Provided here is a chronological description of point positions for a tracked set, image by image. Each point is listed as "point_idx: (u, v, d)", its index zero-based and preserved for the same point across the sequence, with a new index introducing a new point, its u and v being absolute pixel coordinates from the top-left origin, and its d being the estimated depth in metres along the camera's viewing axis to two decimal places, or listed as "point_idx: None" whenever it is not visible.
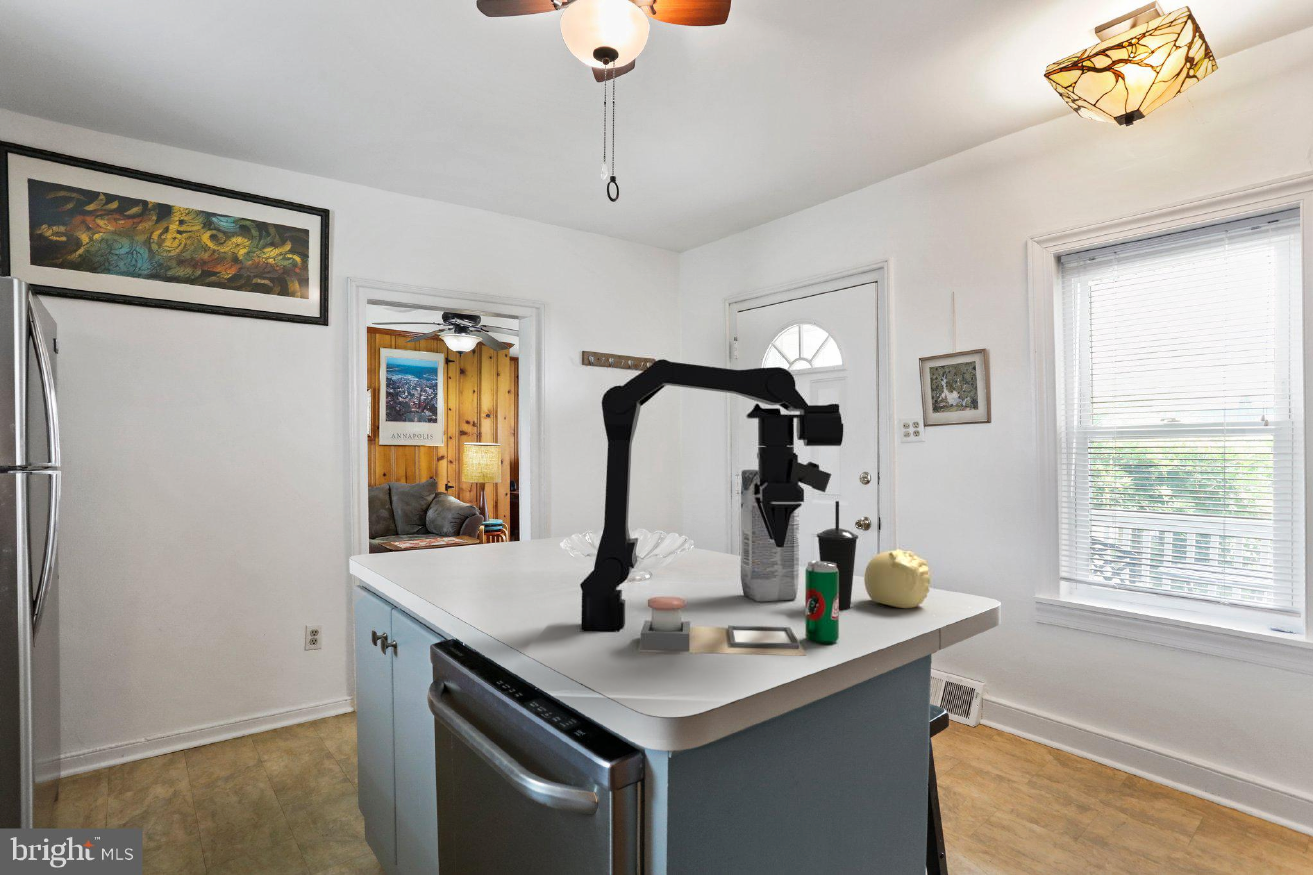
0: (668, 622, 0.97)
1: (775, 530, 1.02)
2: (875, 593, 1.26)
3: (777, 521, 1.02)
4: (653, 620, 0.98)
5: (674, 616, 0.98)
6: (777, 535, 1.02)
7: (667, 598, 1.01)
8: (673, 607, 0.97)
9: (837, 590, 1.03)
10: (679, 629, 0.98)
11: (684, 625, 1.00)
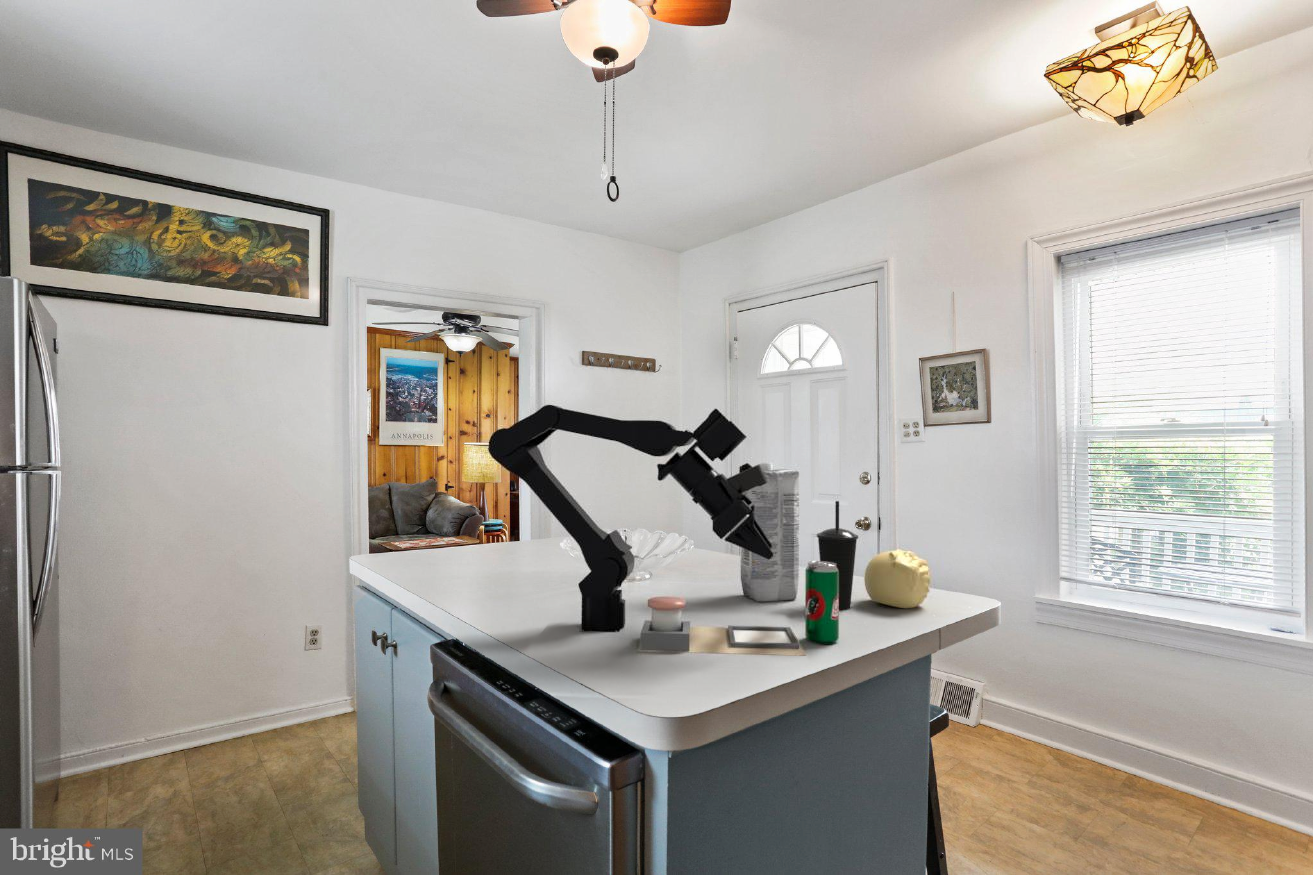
0: (668, 622, 0.97)
1: (755, 548, 1.00)
2: (875, 593, 1.26)
3: (749, 540, 1.00)
4: (653, 620, 0.98)
5: (674, 616, 0.98)
6: (760, 550, 1.00)
7: (667, 598, 1.01)
8: (673, 607, 0.97)
9: (837, 590, 1.03)
10: (679, 629, 0.98)
11: (684, 625, 1.00)
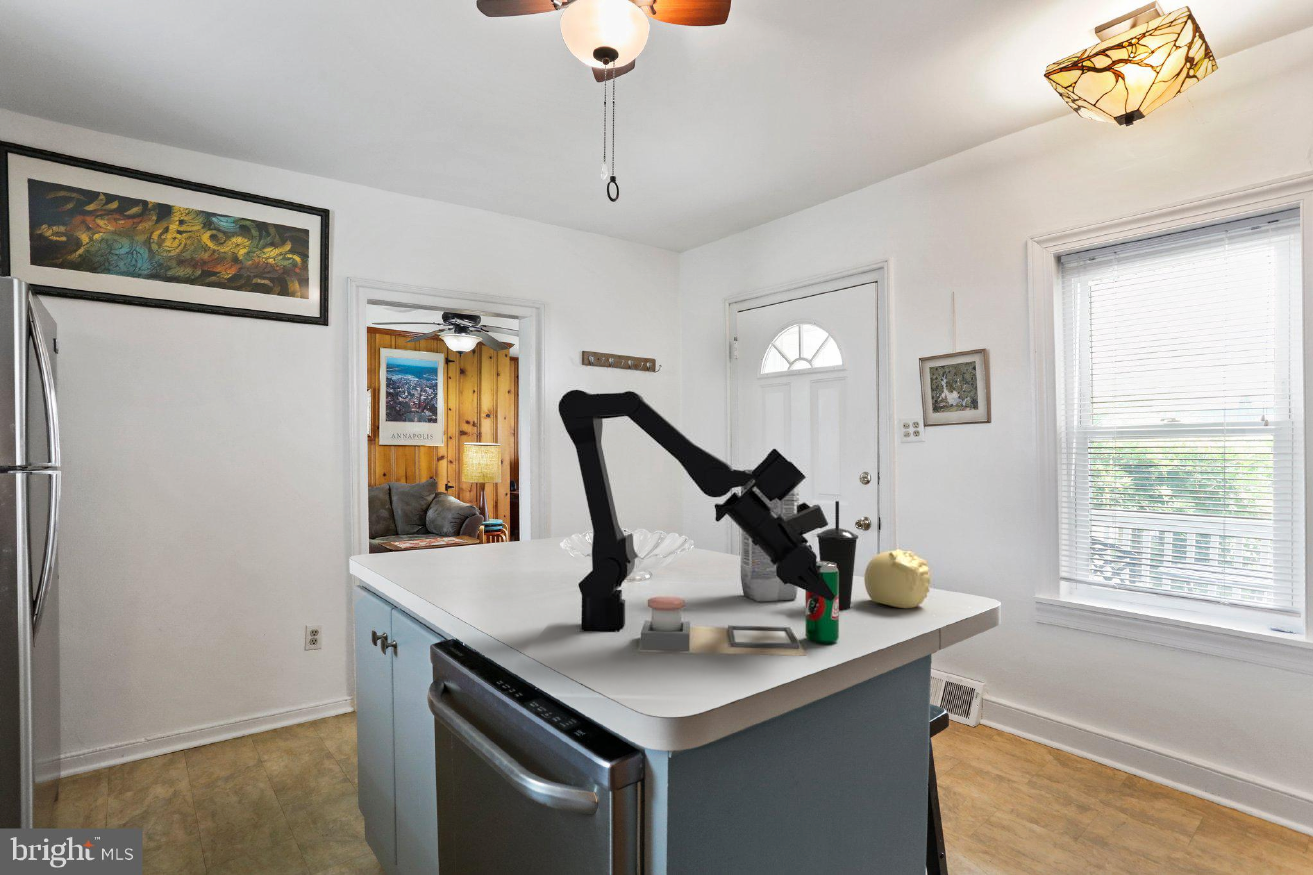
0: (668, 622, 0.97)
1: (817, 590, 1.01)
2: (875, 593, 1.26)
3: (811, 582, 1.00)
4: (653, 620, 0.98)
5: (674, 616, 0.98)
6: (822, 592, 1.01)
7: (667, 598, 1.01)
8: (673, 607, 0.97)
9: (837, 590, 1.03)
10: (679, 629, 0.98)
11: (684, 625, 1.00)
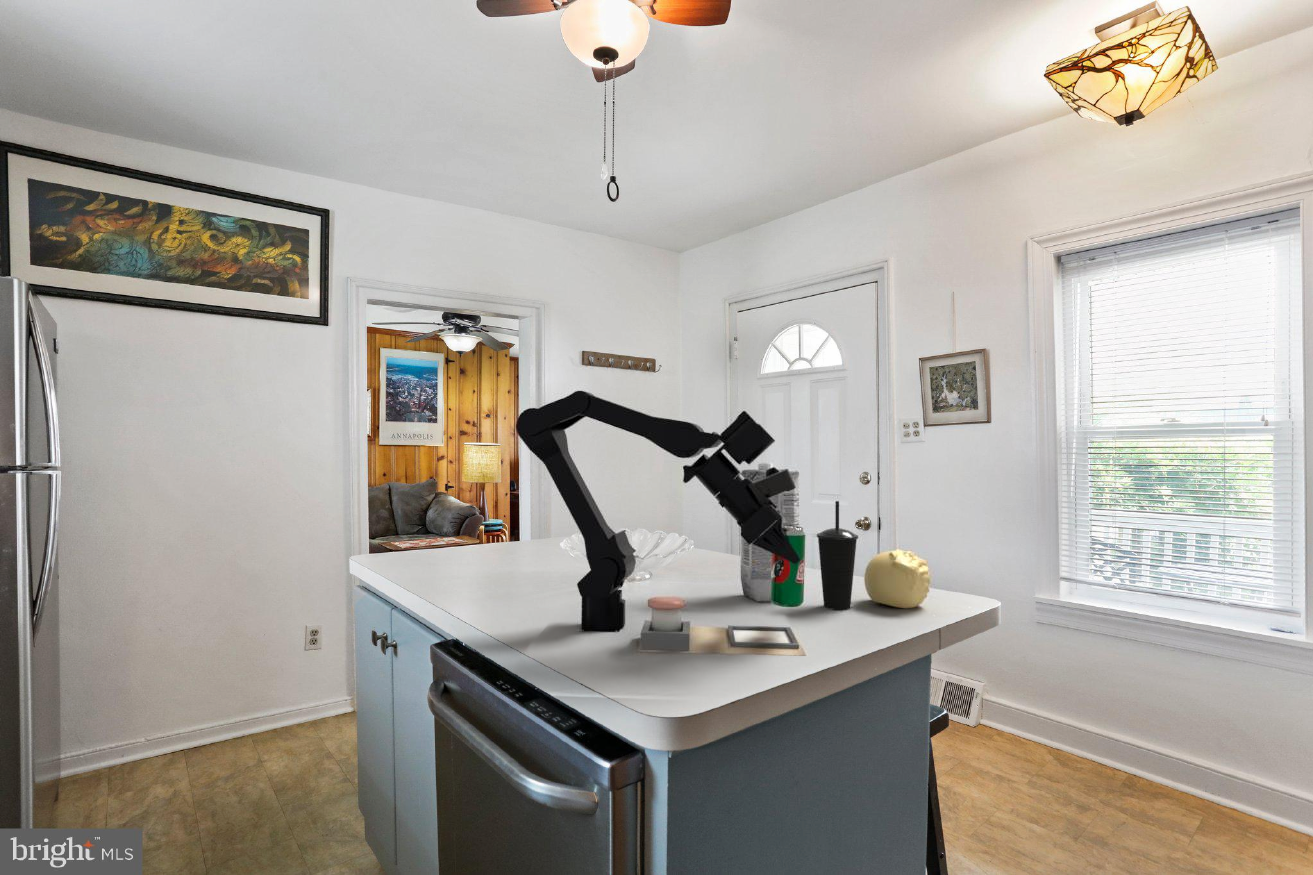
0: (668, 622, 0.97)
1: (782, 553, 1.00)
2: (875, 593, 1.26)
3: (777, 544, 1.00)
4: (653, 620, 0.98)
5: (674, 616, 0.98)
6: (787, 555, 1.00)
7: (667, 598, 1.01)
8: (673, 607, 0.97)
9: (803, 553, 1.02)
10: (679, 629, 0.98)
11: (684, 625, 1.00)
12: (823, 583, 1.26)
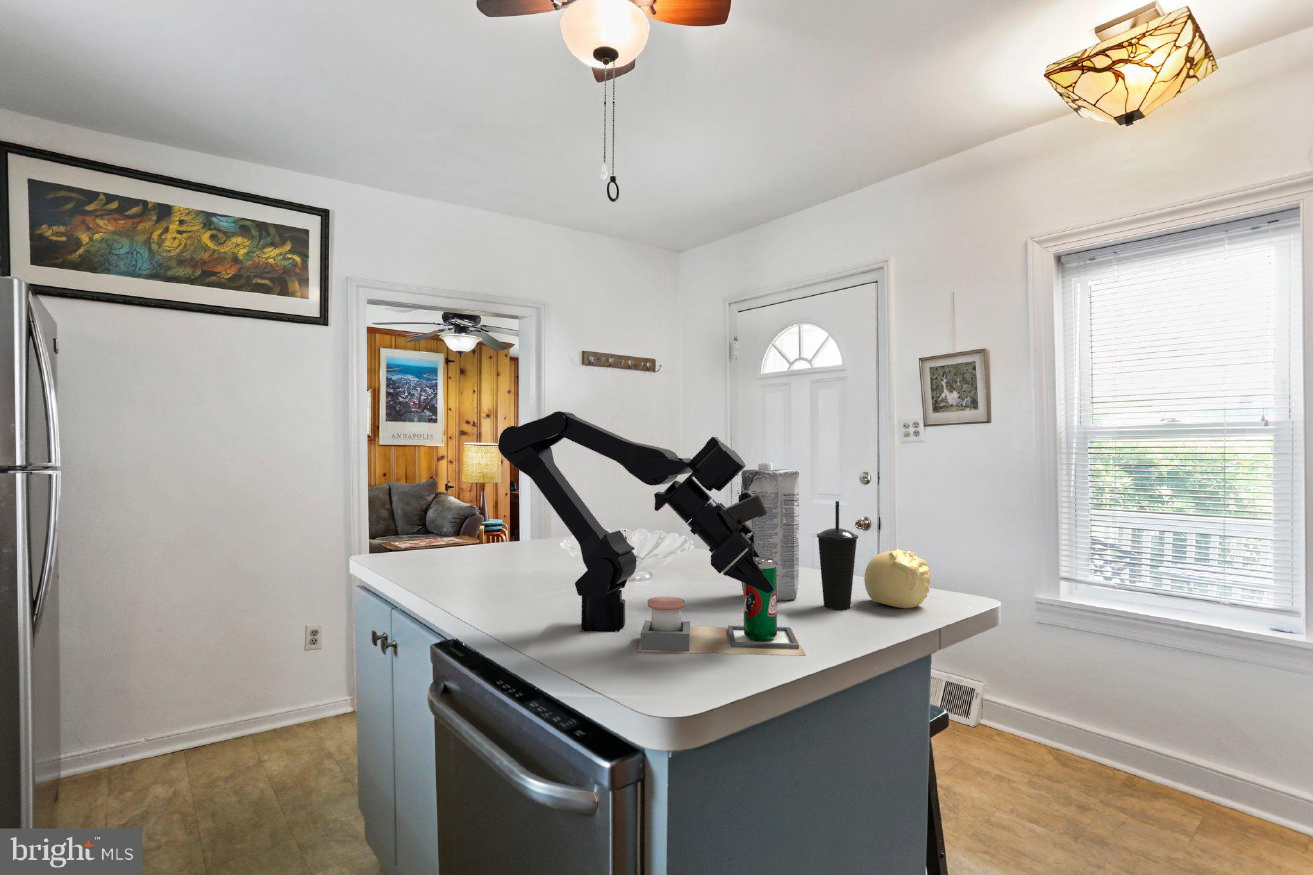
0: (668, 622, 0.97)
1: (754, 582, 0.97)
2: (875, 593, 1.26)
3: (749, 574, 0.97)
4: (653, 620, 0.98)
5: (674, 616, 0.98)
6: (760, 584, 0.97)
7: (667, 598, 1.01)
8: (673, 607, 0.97)
9: (774, 586, 1.01)
10: (679, 629, 0.98)
11: (684, 625, 1.00)
12: (823, 583, 1.26)
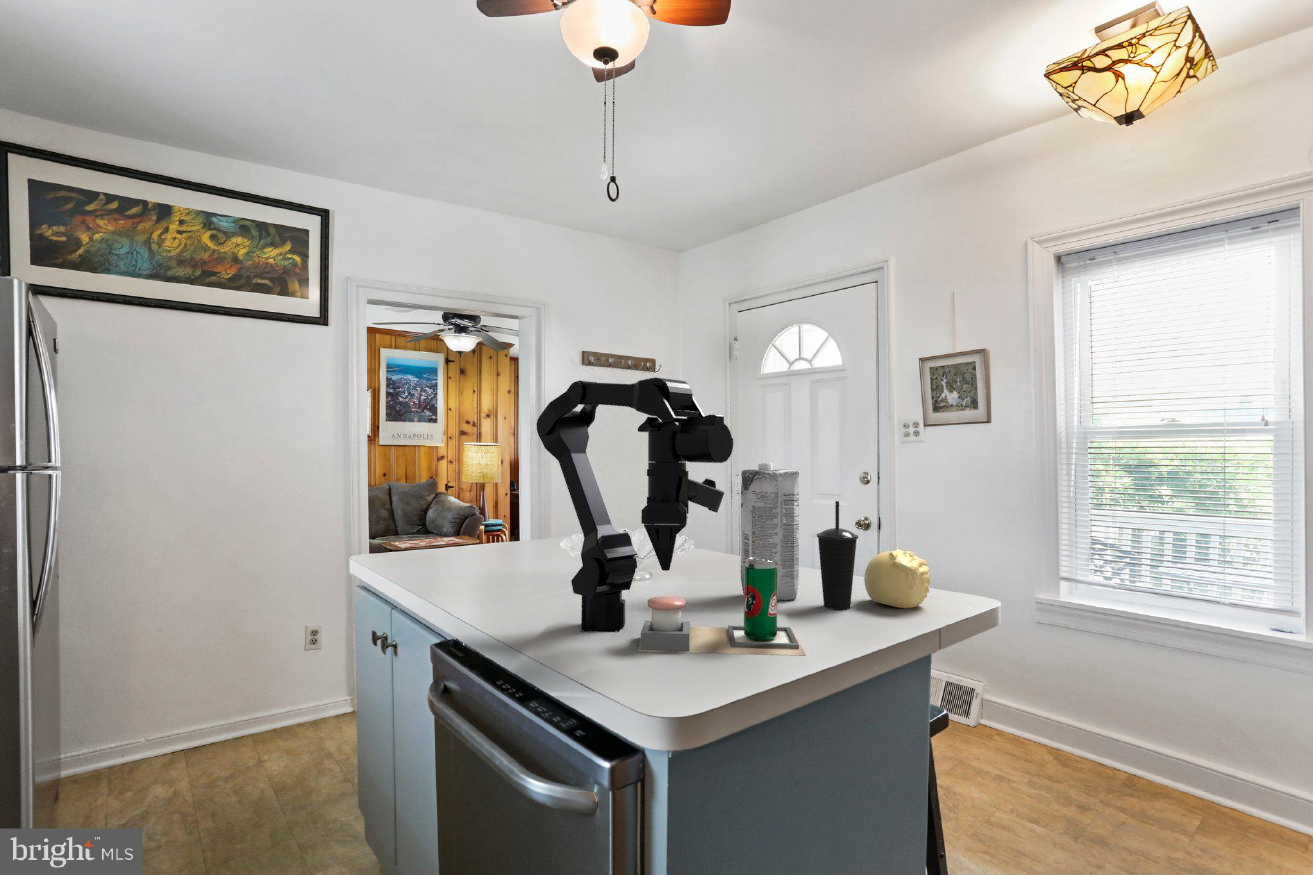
0: (668, 622, 0.97)
1: (660, 552, 0.96)
2: (875, 593, 1.26)
3: (662, 543, 0.96)
4: (653, 620, 0.98)
5: (674, 616, 0.98)
6: (662, 557, 0.96)
7: (667, 598, 1.01)
8: (673, 607, 0.97)
9: (775, 586, 1.01)
10: (679, 629, 0.98)
11: (684, 625, 1.00)
12: (823, 583, 1.26)
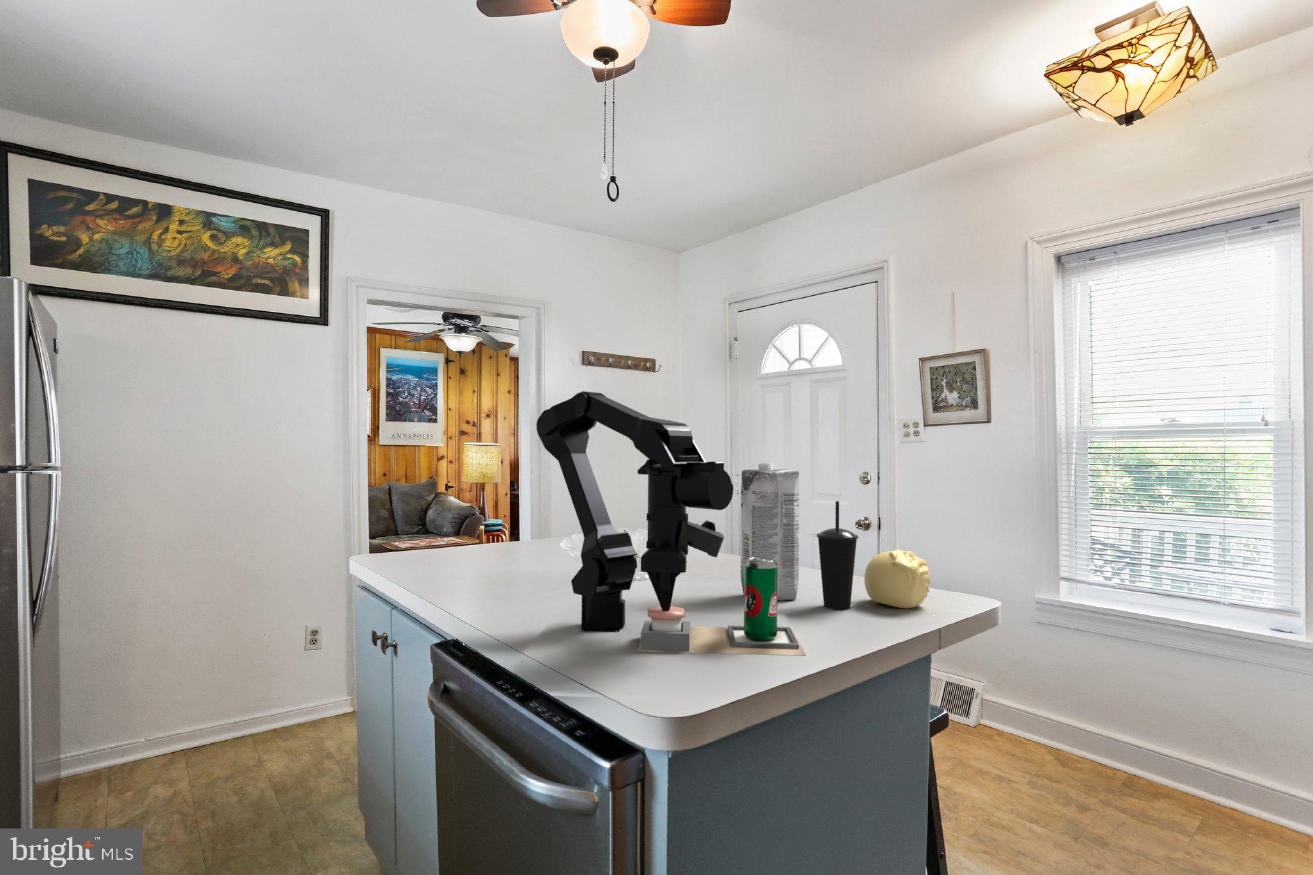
0: None
1: (660, 593, 0.99)
2: (875, 593, 1.26)
3: (662, 584, 0.98)
4: (653, 630, 0.98)
5: (673, 626, 0.98)
6: (662, 598, 0.99)
7: None
8: (673, 617, 0.97)
9: (775, 586, 1.01)
10: None
11: (684, 625, 1.00)
12: (823, 583, 1.26)
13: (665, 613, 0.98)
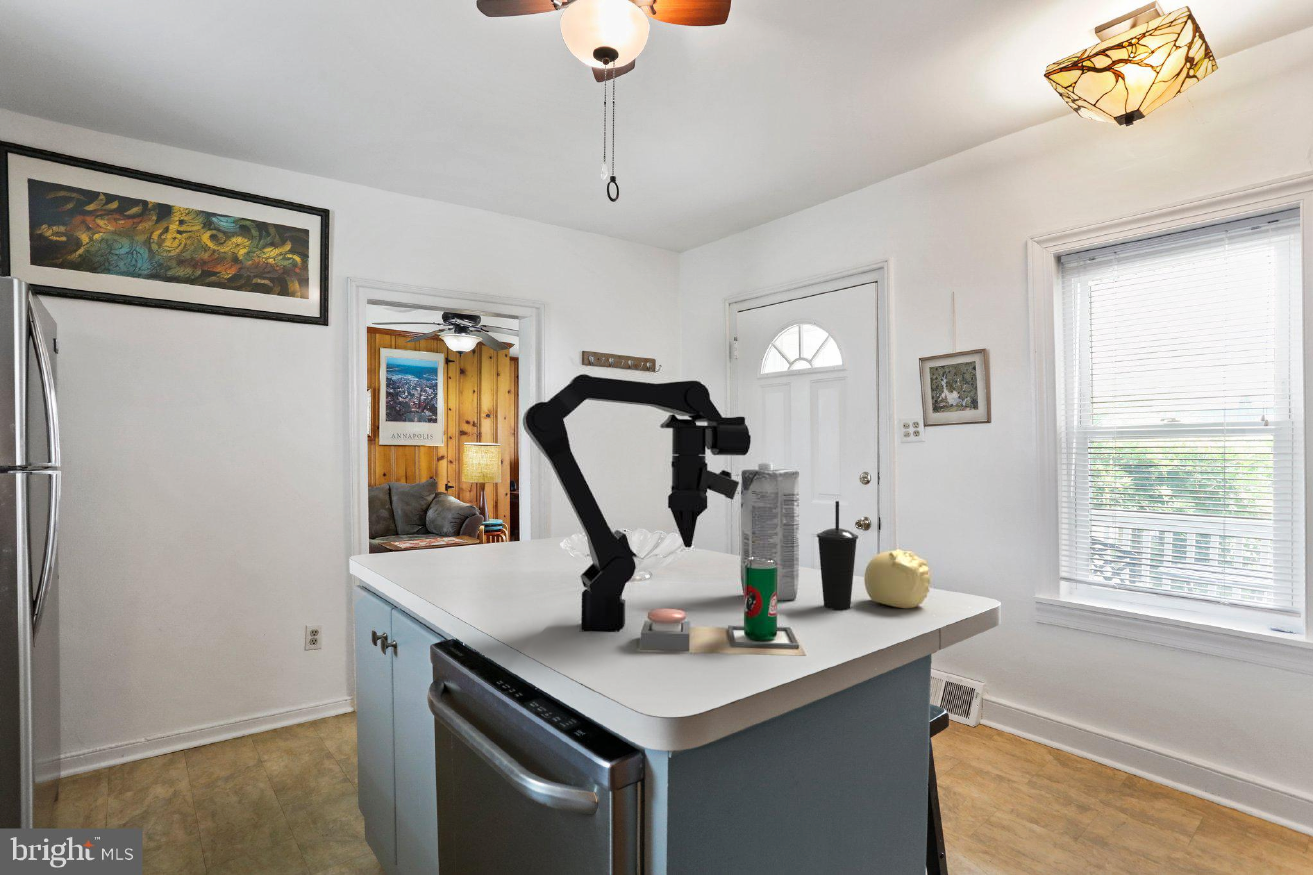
0: None
1: (683, 532, 1.12)
2: (875, 593, 1.26)
3: (685, 523, 1.12)
4: None
5: (673, 629, 0.98)
6: (685, 536, 1.13)
7: (667, 610, 1.01)
8: (673, 620, 0.97)
9: (775, 586, 1.01)
10: None
11: (684, 625, 1.00)
12: (823, 583, 1.26)
13: (665, 616, 0.98)
